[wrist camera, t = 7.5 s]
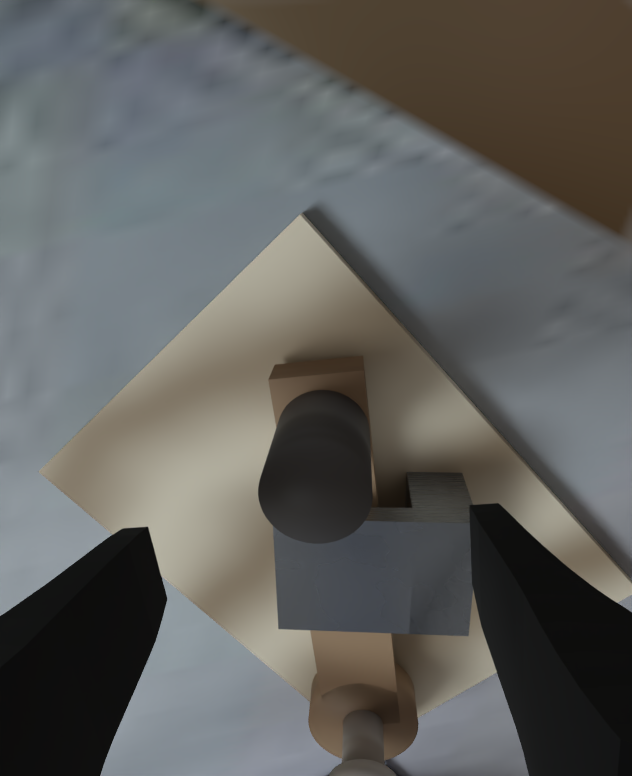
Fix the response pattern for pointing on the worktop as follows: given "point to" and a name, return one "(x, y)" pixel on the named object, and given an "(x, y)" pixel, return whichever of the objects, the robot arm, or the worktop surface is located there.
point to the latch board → (253, 440)
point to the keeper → (386, 568)
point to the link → (329, 524)
